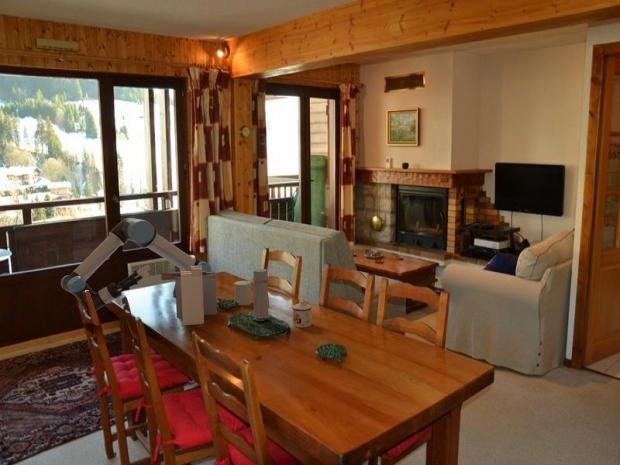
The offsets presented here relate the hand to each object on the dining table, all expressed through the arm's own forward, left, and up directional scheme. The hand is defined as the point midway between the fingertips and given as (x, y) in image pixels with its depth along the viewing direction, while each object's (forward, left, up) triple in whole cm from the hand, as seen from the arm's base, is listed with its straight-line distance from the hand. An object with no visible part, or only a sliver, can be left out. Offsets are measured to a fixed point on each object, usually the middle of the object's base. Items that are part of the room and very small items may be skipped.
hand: (148, 269), depth 266 cm
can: (-14, +48, -25) cm, 55 cm away
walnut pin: (0, +17, -5) cm, 18 cm away
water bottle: (+18, +54, -25) cm, 62 cm away
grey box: (0, +23, -24) cm, 33 cm away
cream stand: (+12, +21, -24) cm, 34 cm away
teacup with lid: (+32, +72, -25) cm, 82 cm away
